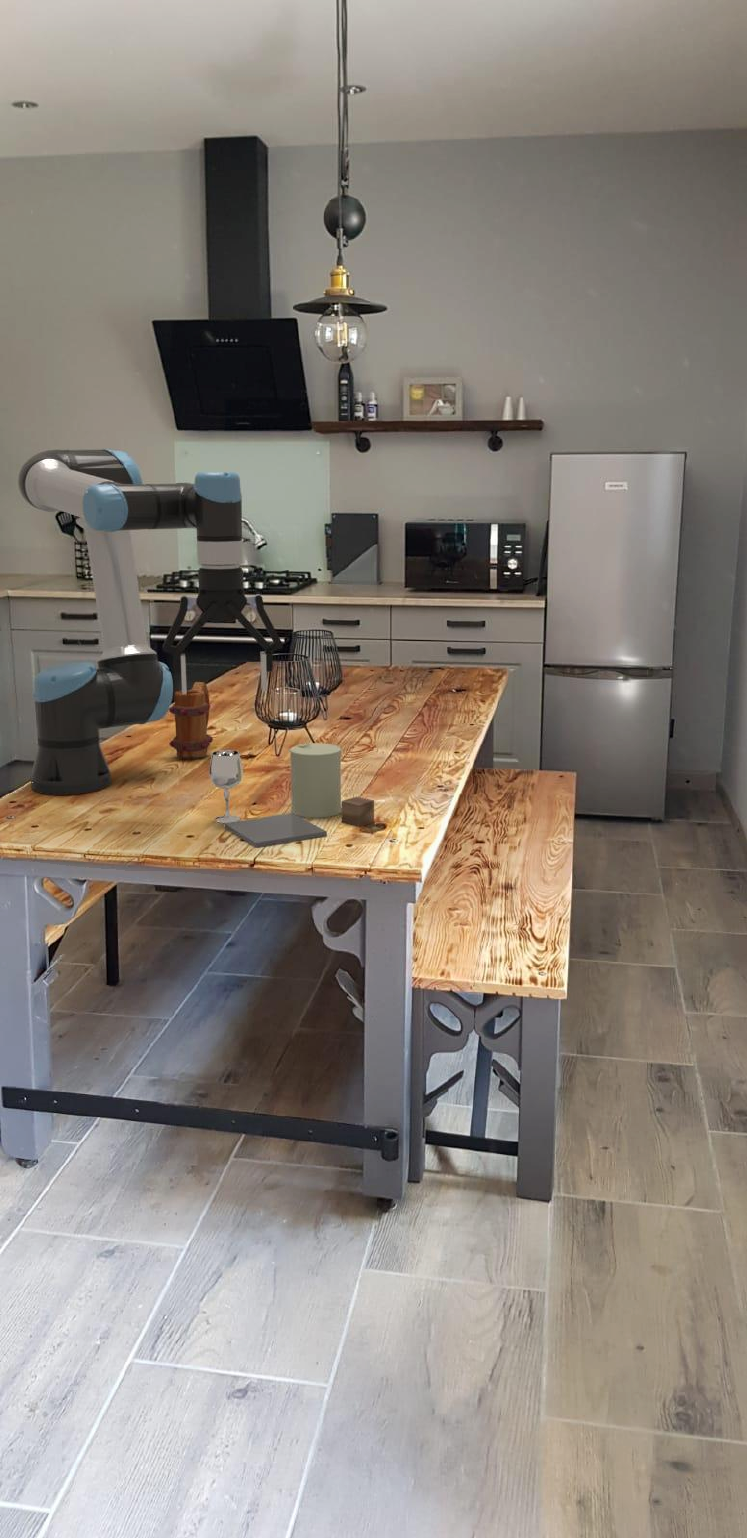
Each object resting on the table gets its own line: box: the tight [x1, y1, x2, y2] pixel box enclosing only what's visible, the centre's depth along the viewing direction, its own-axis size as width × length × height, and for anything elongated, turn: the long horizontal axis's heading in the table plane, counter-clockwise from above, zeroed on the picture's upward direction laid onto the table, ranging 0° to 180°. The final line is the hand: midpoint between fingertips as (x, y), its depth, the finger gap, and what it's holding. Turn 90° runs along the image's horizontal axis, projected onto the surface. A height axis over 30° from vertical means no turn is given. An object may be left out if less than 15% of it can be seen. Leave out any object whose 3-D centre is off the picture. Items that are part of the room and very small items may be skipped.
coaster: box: [223, 812, 327, 849], centre depth 208 cm, size 13×13×1 cm
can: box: [289, 742, 342, 819], centre depth 219 cm, size 9×9×12 cm
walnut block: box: [341, 796, 375, 828], centre depth 213 cm, size 4×4×4 cm
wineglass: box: [208, 749, 244, 824], centre depth 214 cm, size 6×6×12 cm
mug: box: [168, 681, 214, 760], centre depth 262 cm, size 15×8×15 cm, turn 168°
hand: (224, 691), depth 210 cm, fingers open, 13 cm apart
